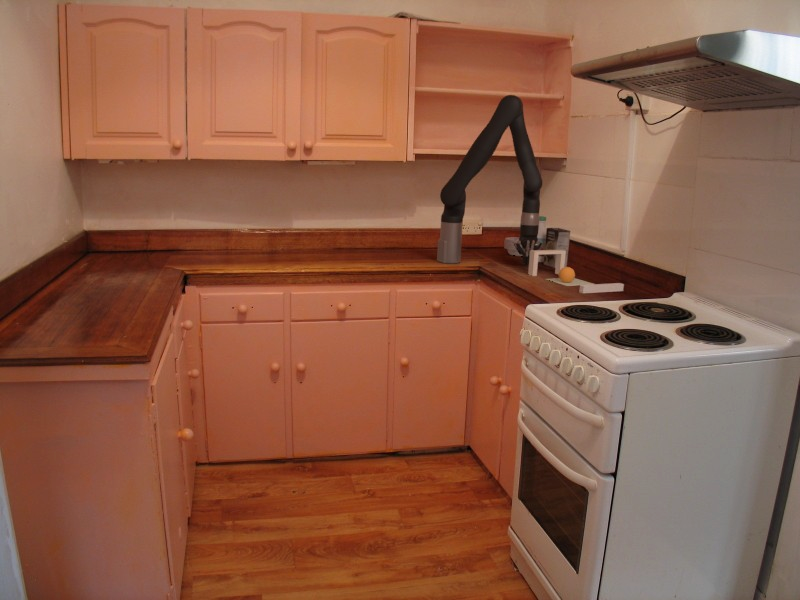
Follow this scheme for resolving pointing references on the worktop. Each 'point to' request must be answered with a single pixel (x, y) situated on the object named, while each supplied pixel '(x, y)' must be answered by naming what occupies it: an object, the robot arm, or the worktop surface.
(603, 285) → the stopper strip
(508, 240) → the paper bowls
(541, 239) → the milk bottle
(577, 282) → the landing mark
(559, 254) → the bridge
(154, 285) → the worktop surface
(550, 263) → the coffee box
